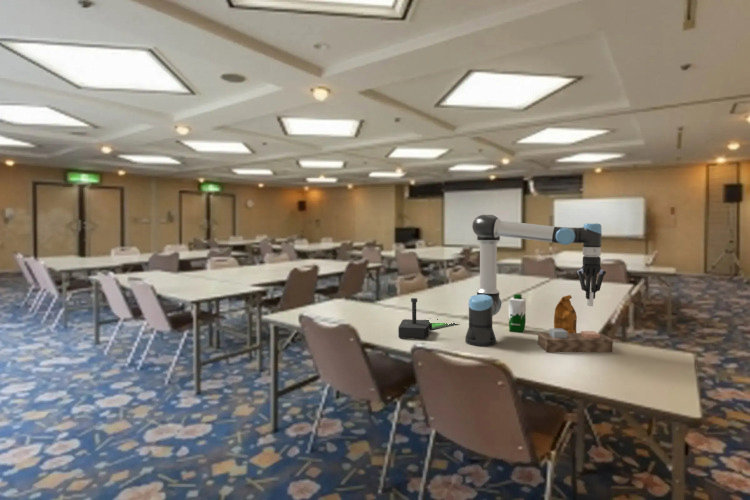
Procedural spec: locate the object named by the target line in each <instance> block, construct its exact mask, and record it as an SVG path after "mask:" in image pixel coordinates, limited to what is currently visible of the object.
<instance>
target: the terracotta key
mask: <svg viewBox="0 0 750 500" xmlns="http://www.w3.org/2000/svg"><path fill="white" fill-rule="evenodd" d="M580 333H581V335H582V336H583V337H585V338H600V334H598V333H599V332H597V331H594V330H581V331H580Z"/></svg>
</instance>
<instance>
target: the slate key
mask: <svg viewBox="0 0 750 500" xmlns="http://www.w3.org/2000/svg"><path fill="white" fill-rule="evenodd" d="M548 333H549V335H550V336H551V337H553V338H567V331H565V330H564V329H562V328H554V327H553V328H552V327H551V328H549V332H548Z"/></svg>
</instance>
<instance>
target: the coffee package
mask: <svg viewBox="0 0 750 500" xmlns="http://www.w3.org/2000/svg"><path fill="white" fill-rule="evenodd" d="M570 299H572V295H571V294H567V295H564V296H562V297H561V298H560V300H559V302H558V303H557V305H556V306H555V309H554V316H553V328H562V329H564V330H565V331H567V333H577V322H578V321H577V318H578V317H577V312H576V310H575V307H574V306H573V305H572V302H571V300H570Z"/></svg>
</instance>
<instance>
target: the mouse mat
mask: <svg viewBox="0 0 750 500" xmlns="http://www.w3.org/2000/svg"><path fill="white" fill-rule="evenodd" d="M437 320H438V319H437ZM454 325H455V326H458V324H455V323H453V324H452V323H451V324H449V325H448V324H447V323H446V324H445V323H432V330H431V331H433V330H437V329H438V330H439V329H444V328H449V327H454Z"/></svg>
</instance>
